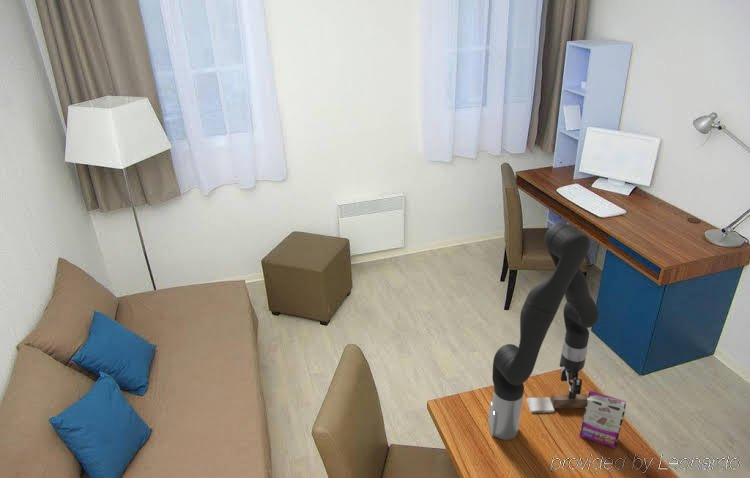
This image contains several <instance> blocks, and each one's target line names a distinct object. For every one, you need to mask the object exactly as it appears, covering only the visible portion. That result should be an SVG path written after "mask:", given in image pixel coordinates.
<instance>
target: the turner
mask: <svg viewBox="0 0 750 478" xmlns="http://www.w3.org/2000/svg"><path fill="white" fill-rule="evenodd" d="M568 395H569V394H551V397H526V399H525V400H526V403H527V406H528V409H529V411H530V413H532V414H533V413H535V414H537V413H538V414H539V413H555V409H578V408H579V409H580V408H581V409H582V408H584V409H585V408H586V403H587V398H588V395H587V393H584V394H582V393H580V394H576V398H575V399H569V398H568Z"/></svg>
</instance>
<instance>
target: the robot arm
mask: <svg viewBox="0 0 750 478" xmlns="http://www.w3.org/2000/svg"><path fill="white" fill-rule="evenodd" d="M544 245H545V248H546V250H547V252H548V253H549V256H550V257H551V259H552V261H553V263H554V266H555V269H554V271H553V272H552V274H551V275H550V276H549V277H548V278H547V279H545V280H543V281H542V282H541V283H539V284H538V285H536V286H535V287H533V288H532V289H531V290H530V291H529V292H528V294H527V296H526V298H525V300H524V302H523V305H522V308H521V311H520V318H519V333H520V334H519V338H520V339H519V345H518V346H517V345H515V344H511V343H508V344H504V345H502V346H500V347H499V348H498V350H497V351H496V353H495V355H494V357H493V361H492V362H493V363H492V384H493V392H492V393H493V394H492V401H490V403H489V411H488V412H489V413H488V420H487V423H488V427H489V428H488V429H489V431H490V435H491V437H495V438H498V439H500V440H504V441H509V440H512V439H514V438H515V437H516V436H517V435H518V431H519V426H520V420H521V419H520V418H521V411H522V405H523V399H524V394H525V385H524V383H525V382H526V381H527V380H528V379H529V378H530V377H531V375H532V374H533V371H534V368H535V365H536V363H537V359H538V356H539V352H540V350H541V347H542V345H543V342H544V341H545V338H546V335H547V334H548V331H549V329H550V326H551V324H552V323H553V321H554V319H555V317H556V315H557V313H558V310H559V308H560V306H561V303H562V300H563V299H564V297H565V299H566V302H565V304H564V306H563V319H564V326H565V335H564V336H565V337H564V341H563V344H562V349H561V356H560V360H559V367H560V368H561V369H560V371H561V374H560V381H561V382H567V385H568V387H569V390H568V394H567V395H568V398H569V399H575V398H576V394H581V391H582V384H583V380H582V378H579V376H580V371H582V370H583V369H584V367H585V365H586V360H587V359H586V358H587V355H588V354H587V353H588V343H589V337H590V331H589V328H592V327H594V326H596V324H598V321H599V318H600V312H599V309H598V306H597V305H596V302H595V301H594V299H593V298H592V296H591V294H590V289H589V284H588V281H587V278H586V275H584V272H583V271H582V269H581V266H582V264H583V263H584V261H585V259H586V257H587V255H588V253H589V250H590V247H591V240H590V238H589V237H588V236H587V234H585V233H583V232H582V231H580V230H578V229H577V228H575V227H573V226H572V225H571V224H568V223H566V222H557V223H553V224H552V225H551V226H550V227H549V228H548V229H547V231H546V233H545V236H544Z"/></svg>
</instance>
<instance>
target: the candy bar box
mask: <svg viewBox="0 0 750 478" xmlns="http://www.w3.org/2000/svg"><path fill="white" fill-rule="evenodd" d="M587 397H588V398H587V403H586V408H584V411H583V412H584V413H583V418H582V423H581V427H580V432H579V437H580V438H583V439H586V440H590V441H593V442H595V443H598V444H601V445H605V446H608V447H610V448H612V449H616V447H617V443H618V440H619V437H620V432H621V428H622V426H623V425H622V423H623V422H624V421H623V420H624V417H625V413H626V407H627V400H623V399H619V398H616V397H612V396H610V395H606V394H603V393H599V392H596V391H593V390H589V391H588V395H587Z"/></svg>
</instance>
